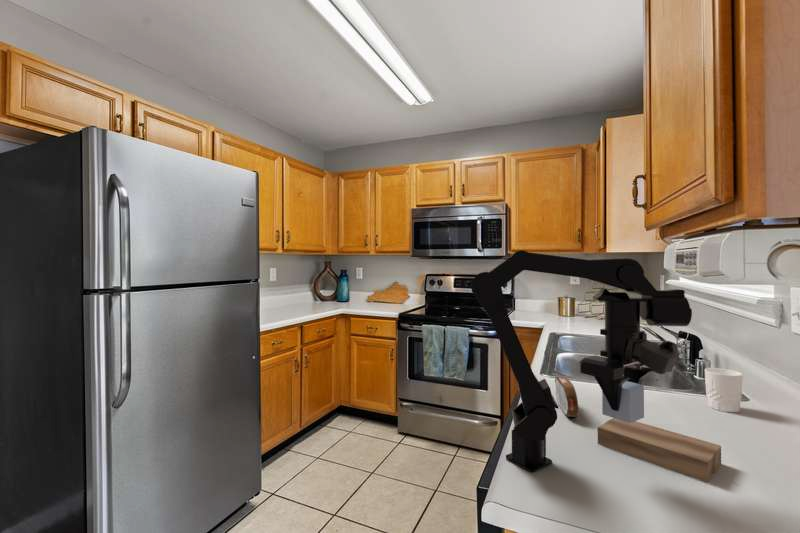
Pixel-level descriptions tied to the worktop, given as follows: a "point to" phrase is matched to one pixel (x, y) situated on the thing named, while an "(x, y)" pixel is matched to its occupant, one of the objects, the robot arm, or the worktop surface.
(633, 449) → the walnut block
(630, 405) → the gray block
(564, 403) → the tin
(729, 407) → the white cup
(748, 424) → the worktop surface
